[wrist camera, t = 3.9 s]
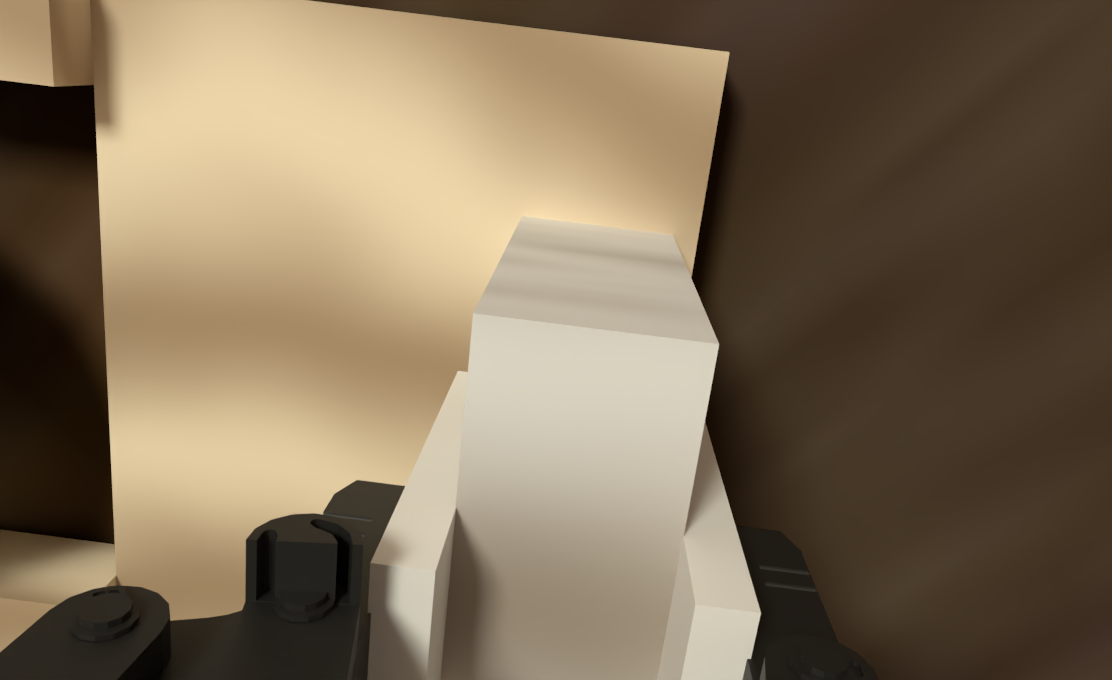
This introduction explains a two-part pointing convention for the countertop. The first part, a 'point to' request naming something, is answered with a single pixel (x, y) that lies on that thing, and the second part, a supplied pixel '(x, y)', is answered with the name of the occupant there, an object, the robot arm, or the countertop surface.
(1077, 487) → the countertop surface
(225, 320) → the wooden tray
